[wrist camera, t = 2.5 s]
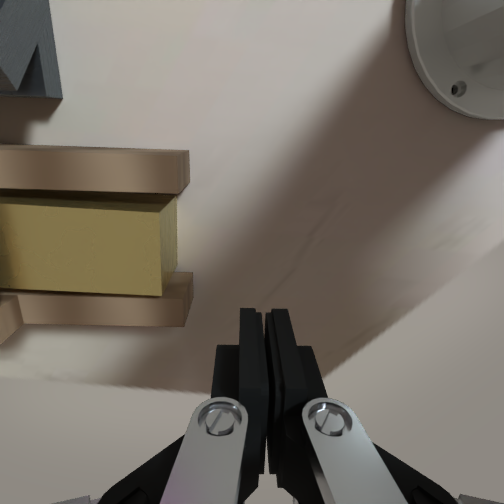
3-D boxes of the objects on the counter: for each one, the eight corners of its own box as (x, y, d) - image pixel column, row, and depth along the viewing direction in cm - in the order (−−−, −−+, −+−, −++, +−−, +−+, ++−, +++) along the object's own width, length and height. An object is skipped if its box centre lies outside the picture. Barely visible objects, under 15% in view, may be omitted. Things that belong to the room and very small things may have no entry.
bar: (177, 194, 23) (159, 213, 18) (178, 263, 25) (161, 295, 20) (-6, 183, 23) (-72, 199, 18) (8, 254, 24) (-49, 285, 20)
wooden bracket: (189, 150, 22) (166, 160, 16) (193, 297, 25) (176, 351, 19) (-36, 142, 21) (-148, 150, 15) (2, 292, 25) (-77, 346, 19)
